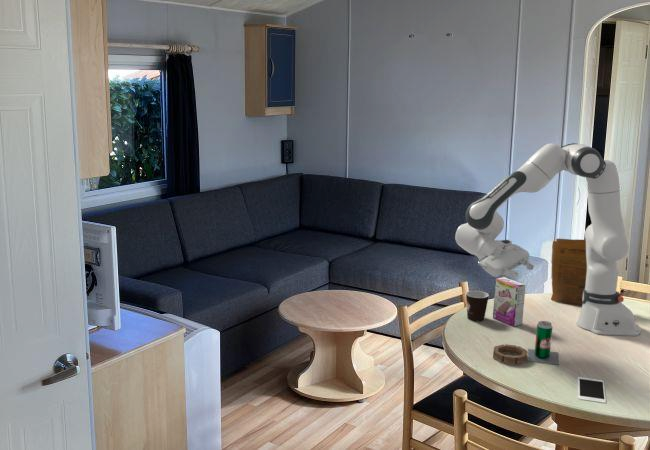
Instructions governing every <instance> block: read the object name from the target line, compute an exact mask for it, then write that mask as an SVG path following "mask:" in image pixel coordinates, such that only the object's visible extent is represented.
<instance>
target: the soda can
mask: <svg viewBox="0 0 650 450" xmlns="http://www.w3.org/2000/svg"><path fill="white" fill-rule="evenodd" d="M552 336H553V325H552V323H551V322H550V321H546V320H540V321H538V323H537V324H536V331H535V343H534V350H535V353H534V354H535V356H536V357H538V358H542V359H546V358H548V357H549V356H550V351H551V348H552V347H551V346H552Z"/></svg>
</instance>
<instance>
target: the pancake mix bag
mask: <svg viewBox="0 0 650 450" xmlns="http://www.w3.org/2000/svg"><path fill="white" fill-rule="evenodd" d="M551 251H552V252H551V260H550V261H551V289H552V290H551V291H552V295H551V297H550V300H552V301H553V302H555V303H558V304H566V305H573V306H581V307H582V305H583V302H582V297H583V291H584V288H585V283H586V273H587V260H586V240H585V239H569V238H556V239H555V240H553V241H552V246H551Z"/></svg>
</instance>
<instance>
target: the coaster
mask: <svg viewBox="0 0 650 450" xmlns="http://www.w3.org/2000/svg"><path fill="white" fill-rule="evenodd" d="M534 353H535V348H533V349H532V348H528V349H527V361H528V362H532V363H540V364H547V365H556V366H560V357H559V352H558V351H557V352H556V351H551V350H550V356H549V357H548V358H546V359H542V358H538V357H536V356H535V354H534Z"/></svg>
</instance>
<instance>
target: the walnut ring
mask: <svg viewBox="0 0 650 450" xmlns="http://www.w3.org/2000/svg"><path fill="white" fill-rule="evenodd" d="M492 354H493V355H492V358H493V360H494V361H496V362H499V363H500V364H504V365H511V366H519V365H522V364H526V363H527V361H528V350H527V349H525V348H523V347H522V346H517V345H516V344H515V345H514V344H500V345H495V346H494V347H493V351H492ZM507 354H511V355H507Z"/></svg>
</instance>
